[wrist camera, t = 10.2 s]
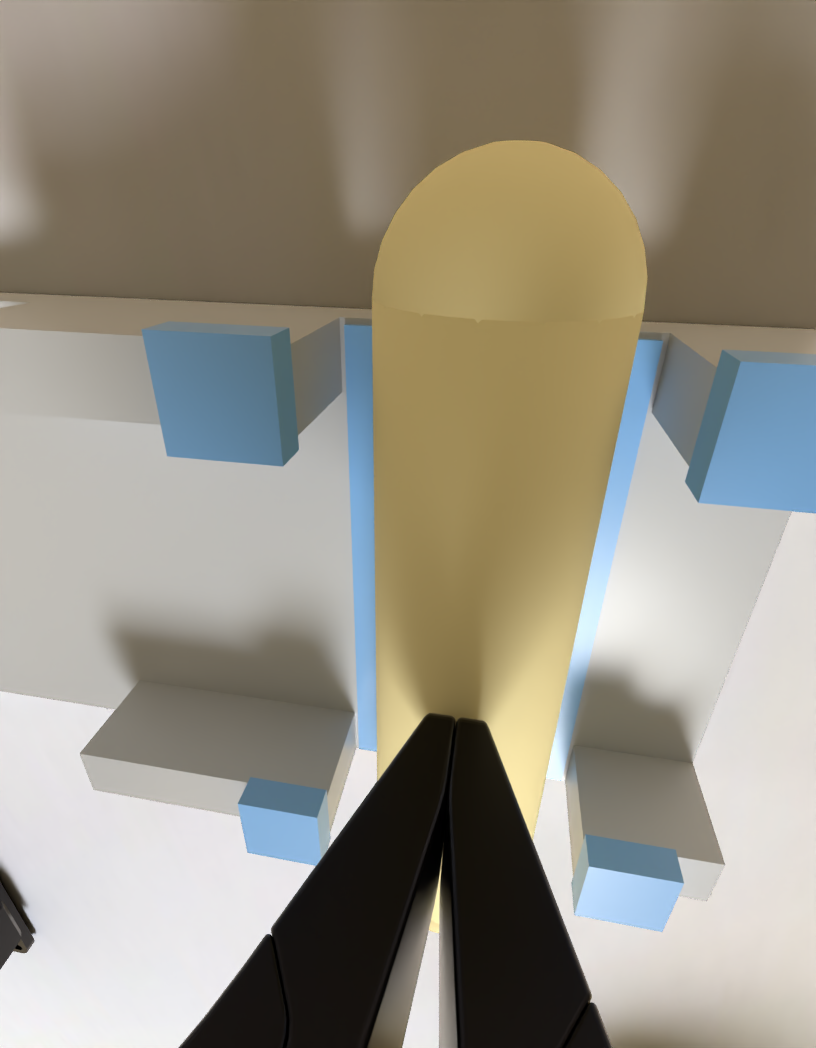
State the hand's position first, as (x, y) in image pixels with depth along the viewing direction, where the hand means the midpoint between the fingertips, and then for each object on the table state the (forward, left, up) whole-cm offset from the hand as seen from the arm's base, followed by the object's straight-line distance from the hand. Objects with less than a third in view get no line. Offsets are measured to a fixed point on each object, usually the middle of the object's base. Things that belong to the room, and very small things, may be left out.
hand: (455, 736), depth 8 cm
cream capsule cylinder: (0, 0, -3) cm, 3 cm away
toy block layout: (-5, 0, -4) cm, 7 cm away
